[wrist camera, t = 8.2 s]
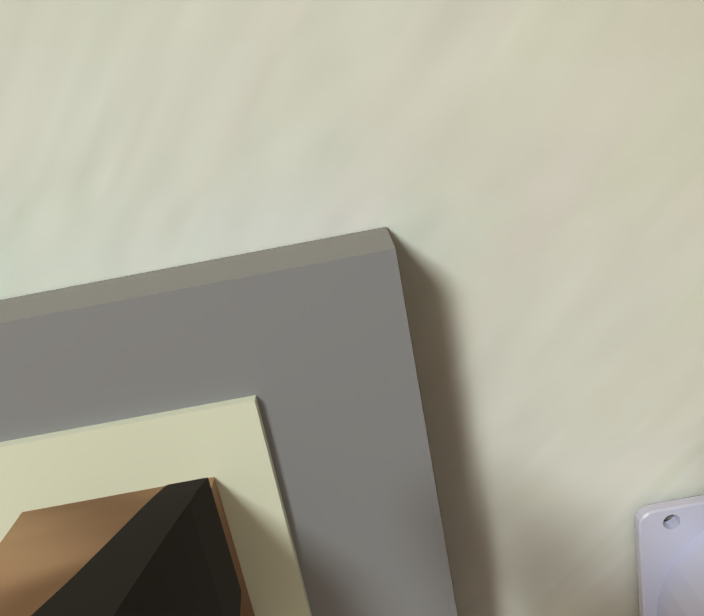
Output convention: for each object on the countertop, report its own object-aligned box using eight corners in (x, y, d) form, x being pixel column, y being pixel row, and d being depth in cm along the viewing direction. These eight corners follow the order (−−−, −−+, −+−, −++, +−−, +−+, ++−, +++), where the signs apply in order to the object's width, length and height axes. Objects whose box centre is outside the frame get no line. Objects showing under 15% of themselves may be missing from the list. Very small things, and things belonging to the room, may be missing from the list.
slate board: (386, 226, 18) (396, 251, 15) (456, 635, 22) (474, 709, 20) (-191, 336, 18) (-279, 379, 16) (-11, 716, 23) (-56, 800, 20)
